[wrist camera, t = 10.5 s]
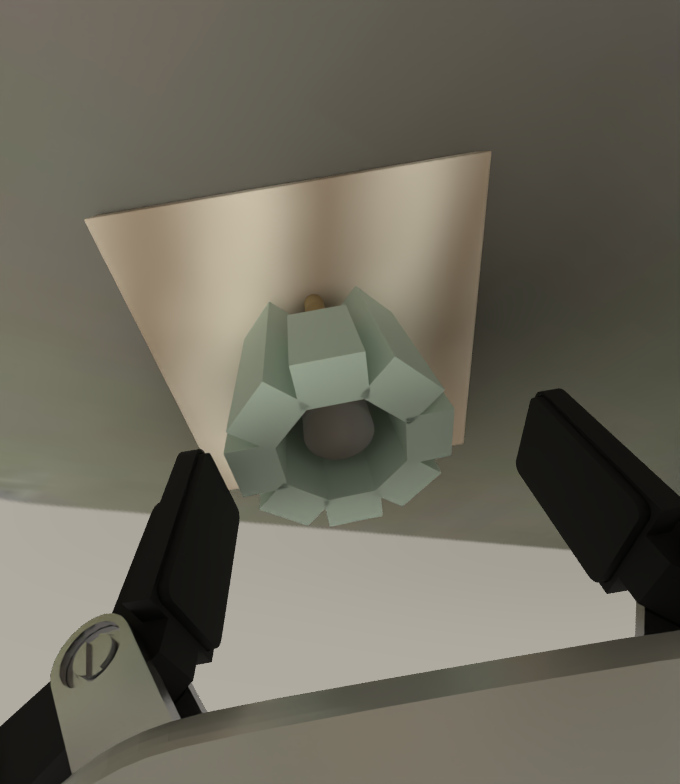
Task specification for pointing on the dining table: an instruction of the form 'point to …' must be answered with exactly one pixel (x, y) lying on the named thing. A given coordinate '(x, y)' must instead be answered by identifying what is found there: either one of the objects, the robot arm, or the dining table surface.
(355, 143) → the dining table surface
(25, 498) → the dining table surface
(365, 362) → the collar
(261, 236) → the post base
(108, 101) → the dining table surface
